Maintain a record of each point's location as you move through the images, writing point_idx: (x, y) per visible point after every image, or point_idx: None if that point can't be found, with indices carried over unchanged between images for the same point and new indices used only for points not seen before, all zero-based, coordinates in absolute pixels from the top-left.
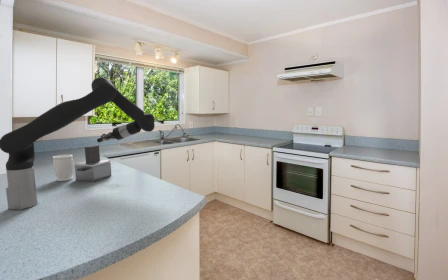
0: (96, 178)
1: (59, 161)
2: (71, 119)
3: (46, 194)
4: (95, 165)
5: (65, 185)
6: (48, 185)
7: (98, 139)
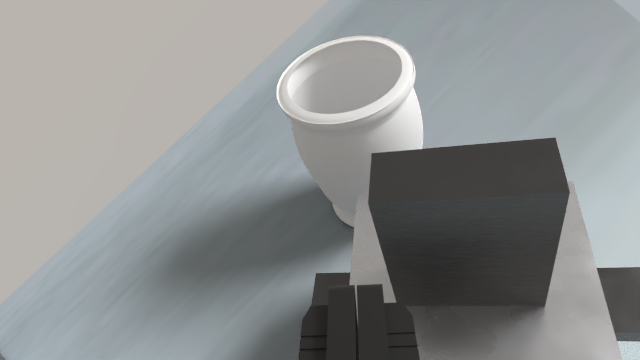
0: None
1: (293, 126)
2: None
3: (112, 349)
4: None
5: (266, 304)
6: (259, 218)
7: (301, 343)
